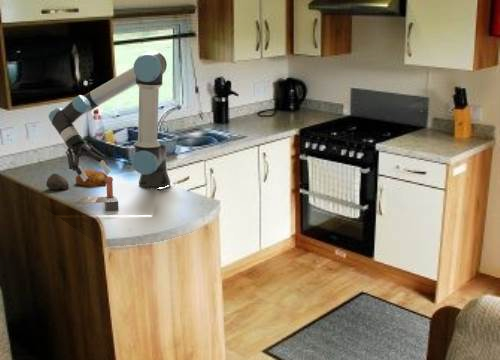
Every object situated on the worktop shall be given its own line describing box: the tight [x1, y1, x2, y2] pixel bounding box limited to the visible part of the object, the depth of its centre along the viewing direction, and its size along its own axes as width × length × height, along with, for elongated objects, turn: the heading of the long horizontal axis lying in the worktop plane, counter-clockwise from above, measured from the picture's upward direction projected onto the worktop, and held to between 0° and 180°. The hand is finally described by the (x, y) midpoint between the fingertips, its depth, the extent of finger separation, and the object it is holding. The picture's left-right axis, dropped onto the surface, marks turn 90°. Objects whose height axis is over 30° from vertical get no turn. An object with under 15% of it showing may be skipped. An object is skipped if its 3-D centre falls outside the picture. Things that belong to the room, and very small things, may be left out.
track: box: [76, 196, 117, 204], centre depth 275 cm, size 16×8×1 cm, turn 94°
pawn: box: [105, 175, 115, 199], centre depth 274 cm, size 4×4×11 cm
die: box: [104, 197, 119, 212], centre depth 263 cm, size 5×5×5 cm
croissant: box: [75, 169, 109, 188], centre depth 301 cm, size 14×16×8 cm
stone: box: [46, 173, 70, 190], centre depth 293 cm, size 10×8×10 cm
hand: (97, 176), depth 276 cm, fingers open, 13 cm apart
